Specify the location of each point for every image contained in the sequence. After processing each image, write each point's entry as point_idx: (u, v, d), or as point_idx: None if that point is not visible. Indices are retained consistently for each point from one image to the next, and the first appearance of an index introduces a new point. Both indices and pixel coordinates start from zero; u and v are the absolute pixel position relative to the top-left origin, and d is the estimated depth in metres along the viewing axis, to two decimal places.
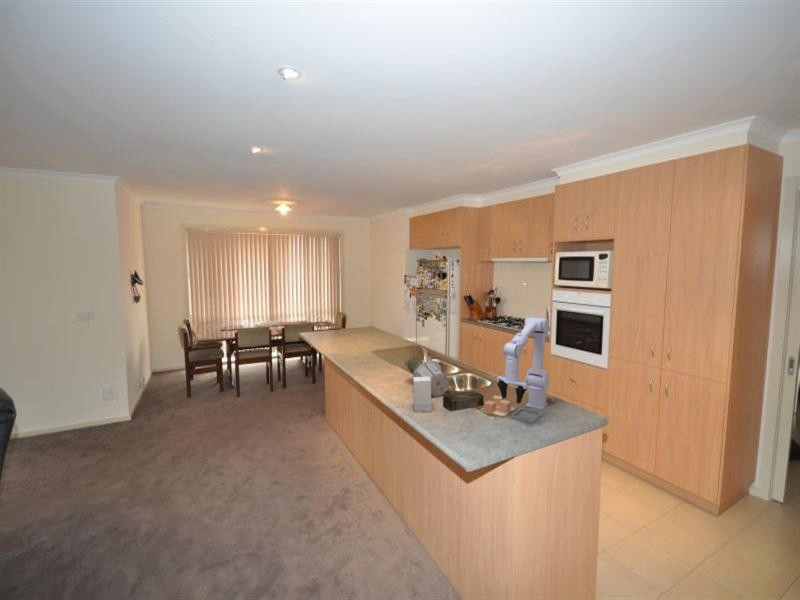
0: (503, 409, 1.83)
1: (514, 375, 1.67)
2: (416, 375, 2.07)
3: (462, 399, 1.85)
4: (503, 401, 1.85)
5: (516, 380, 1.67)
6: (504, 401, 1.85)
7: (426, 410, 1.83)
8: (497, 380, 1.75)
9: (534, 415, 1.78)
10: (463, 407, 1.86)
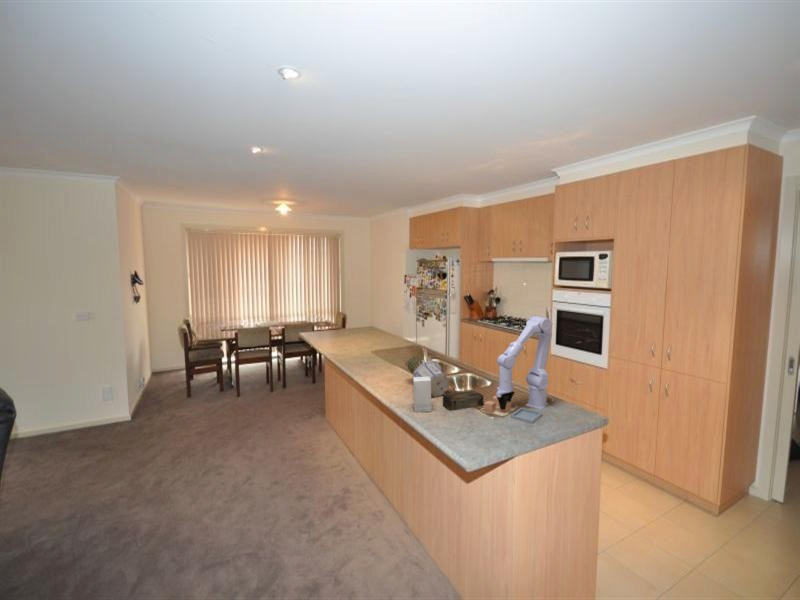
0: None
1: (500, 383, 1.82)
2: (416, 375, 2.07)
3: (461, 399, 1.86)
4: None
5: (501, 388, 1.82)
6: None
7: (426, 410, 1.83)
8: None
9: (534, 415, 1.78)
10: (462, 407, 1.86)
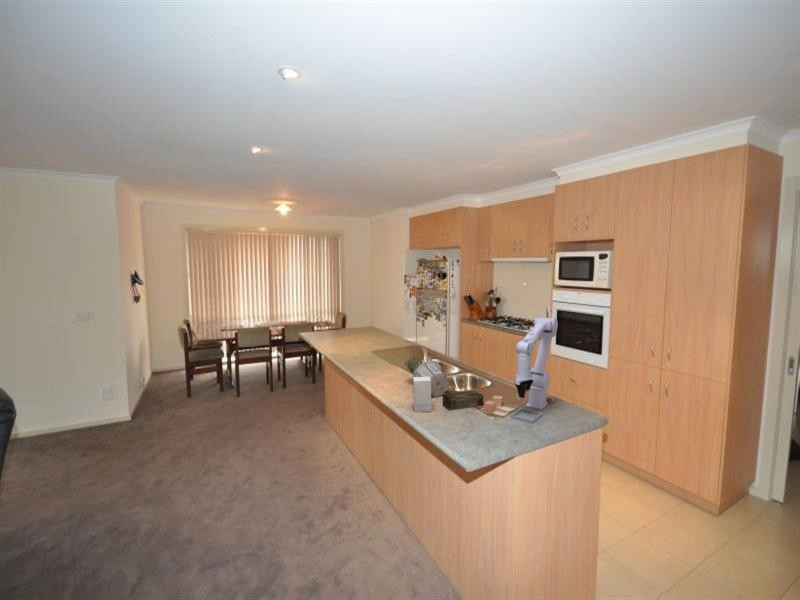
0: (521, 398, 1.78)
1: (518, 370, 1.77)
2: (416, 375, 2.07)
3: (461, 398, 1.86)
4: None
5: (520, 376, 1.76)
6: None
7: (426, 410, 1.83)
8: None
9: (534, 415, 1.78)
10: (462, 406, 1.86)
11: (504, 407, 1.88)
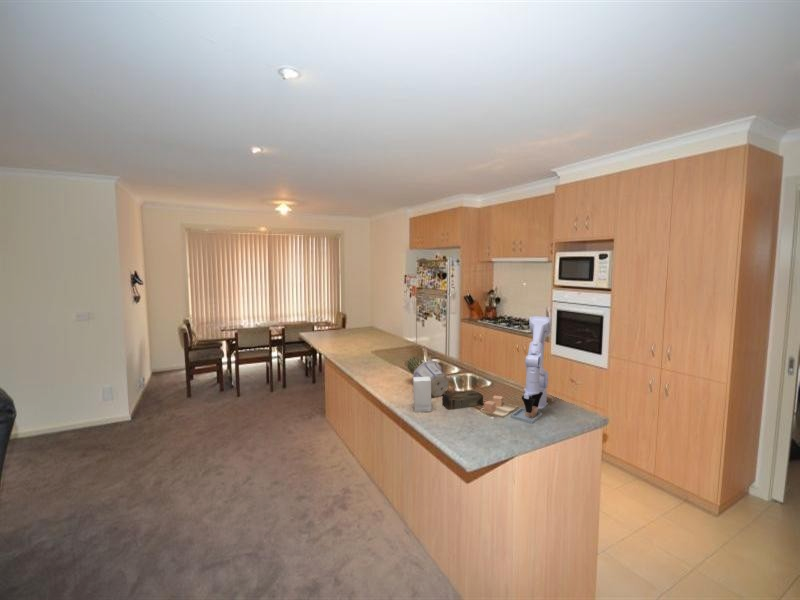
0: (529, 415, 1.76)
1: (527, 384, 1.75)
2: (416, 375, 2.07)
3: (461, 398, 1.86)
4: None
5: (528, 390, 1.75)
6: None
7: (426, 410, 1.83)
8: None
9: None
10: (462, 406, 1.87)
11: (504, 407, 1.88)
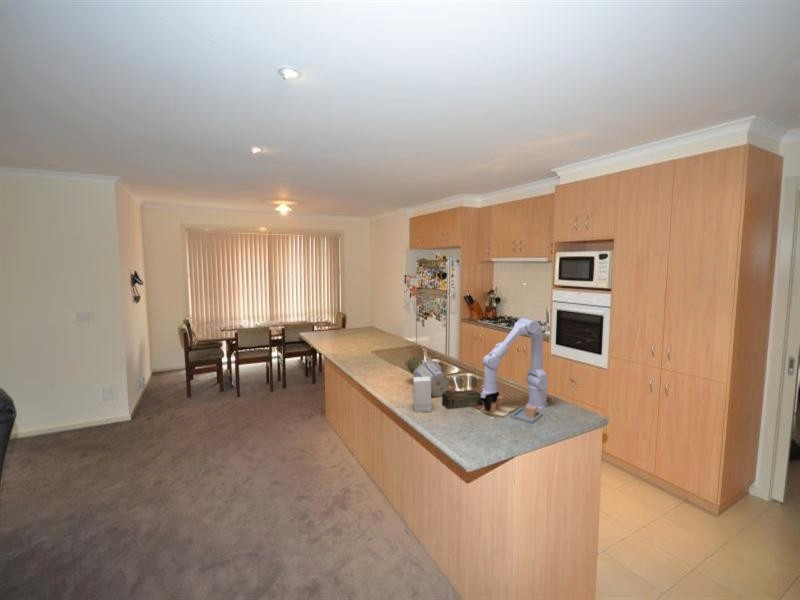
0: (529, 415, 1.76)
1: (484, 384, 1.81)
2: (416, 375, 2.07)
3: (460, 398, 1.87)
4: (529, 406, 1.78)
5: (486, 389, 1.81)
6: (530, 406, 1.78)
7: (426, 410, 1.83)
8: None
9: None
10: (461, 406, 1.87)
11: (504, 407, 1.88)
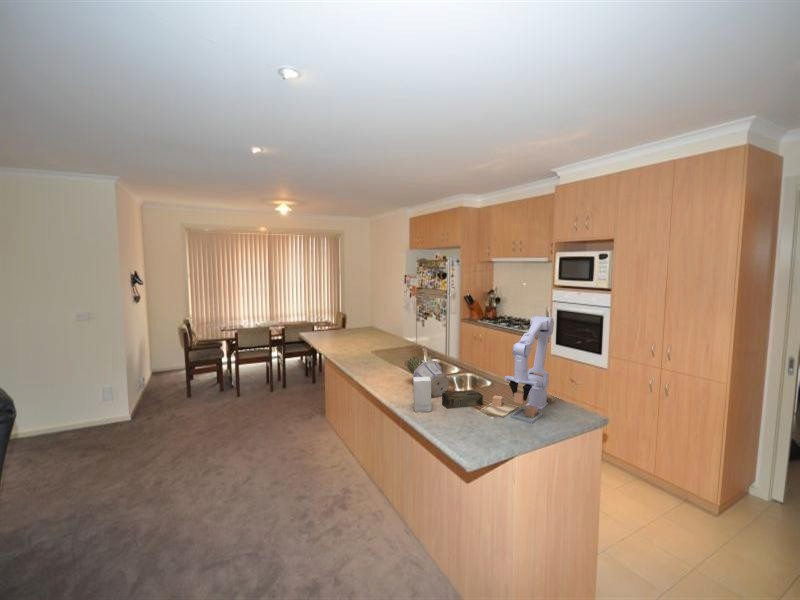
0: (529, 415, 1.76)
1: (524, 374, 1.71)
2: (416, 375, 2.07)
3: (459, 397, 1.87)
4: (529, 406, 1.78)
5: (526, 379, 1.72)
6: (530, 406, 1.78)
7: (426, 410, 1.83)
8: (505, 380, 1.78)
9: None
10: (461, 405, 1.88)
11: (504, 407, 1.88)
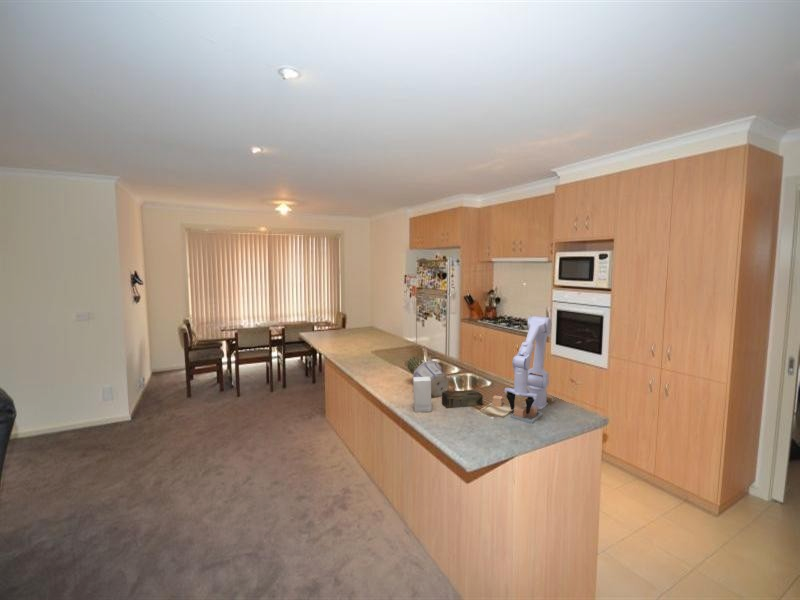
0: (529, 415, 1.76)
1: (524, 387, 1.72)
2: (416, 375, 2.07)
3: (459, 397, 1.88)
4: None
5: (526, 391, 1.73)
6: None
7: (426, 410, 1.83)
8: (505, 392, 1.79)
9: None
10: (460, 405, 1.88)
11: (504, 407, 1.88)
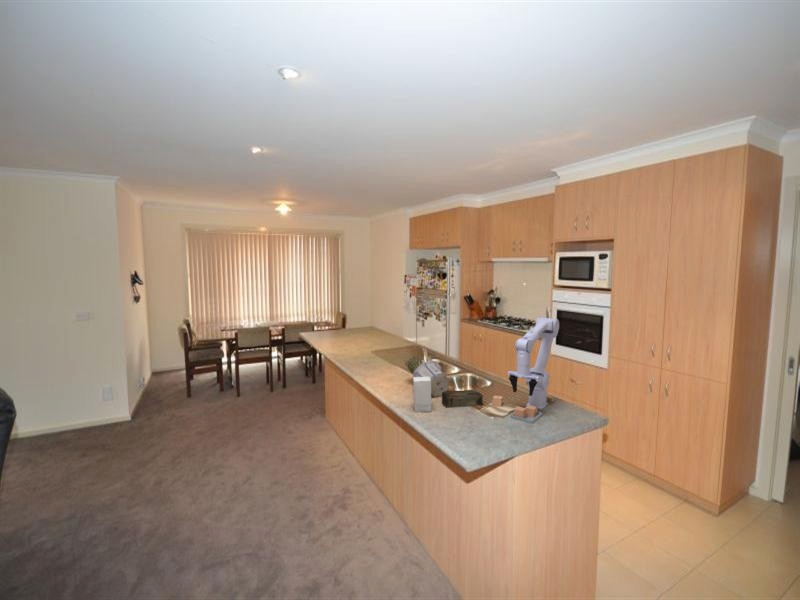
0: (529, 415, 1.76)
1: (527, 369, 1.76)
2: (416, 375, 2.07)
3: (459, 397, 1.88)
4: (529, 406, 1.78)
5: (528, 374, 1.76)
6: (530, 406, 1.78)
7: (426, 410, 1.83)
8: (508, 375, 1.82)
9: None
10: (460, 405, 1.88)
11: (504, 407, 1.88)
